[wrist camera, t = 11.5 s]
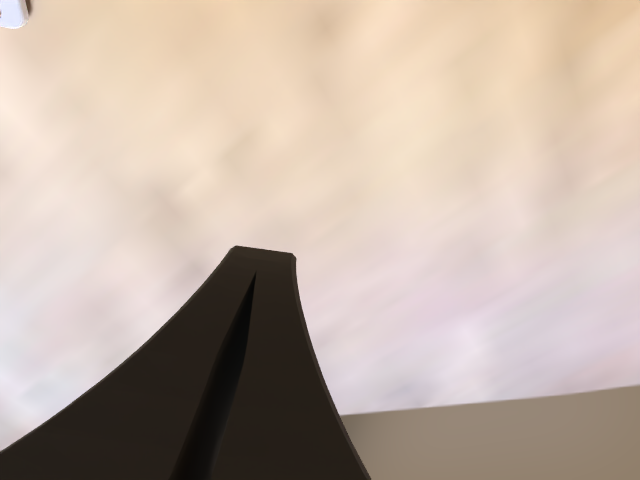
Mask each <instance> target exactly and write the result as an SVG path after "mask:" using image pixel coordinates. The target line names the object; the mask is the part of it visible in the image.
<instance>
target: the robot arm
mask: <svg viewBox="0 0 640 480" xmlns="http://www.w3.org/2000/svg"><path fill="white" fill-rule="evenodd" d="M0 11H1V17H0V27H6V28H20V27H23V26H24V25H26V24H27V22H28V20H29V19H28V11H27V6H26V2H25V0H0ZM0 480H371V478H370V476H369V474H368V472H367V470H366V468H365V467H364V465H363V463H362V461H361V459H360V457H359V455H358V453H357V451H356V449H355V448H354V446H353V444H352V442H351V440H350V438H349V436H348V433H347V431H346V429H345V427H344V425H343V422H342V420H341V418H340V416H339V414H338V412H337V409H336V407H335V405H334V402H333V400H332V397H331V395H330V393H329V390H328V388H327V385H326V383H325V380H324V378H323V375H322V372H321V370H320V367H319V364H318V361H317V358H316V355H315V352H314V349H313V346H312V343H311V340H310V336H309V333H308V329H307V325H306V322H305V318H304V314H303V310H302V306H301V301H300V296H299V290H298V284H297V276H296V257H295V256H294V255H293V254H292V253H287V252H279V251H272V250H265V249H257V248H250V247H243V246H234V247H233V248H231V249H230V250H229V252H228V253H227V255H226V256H225V257H224V259H223V260H222V261H221V263H220V264H219V265H218V266H217V268H216V269H215V270H214V271H213V273H212V274H211V275H210V276H209V277H208V278H207V280H206V281H205V282H204V283H203V284H202V285H201V287H200V288H199V289H198V290H197V291H196V292H195V293H194V294H193V295H192V296H191V297H190V299H189V300H188V301H187V302H186V303H185V304H184V305H183V306H182V307H181V308H180V309H179V310H178V311H177V312H176V313H175V314H174V316H172V317H171V318H170V319H169V320H168V321H167V322H166V323H165V324H164V325H163V326H162V327H161V328H160V329H159V330H158V331H157V332H156V333H155V334H154V335H153V336H152V337H151V338H150V339H149V340H148V341H147V342H145V343H144V344H143V345H142V346H141V347H140V348H139V349H138V350H137V351H135V352H134V353H133V354H132V355H131V356H130V357H129V358H127V359H126V360H125V361H124V362H123V363H122V364H120V365H119V366H118V367H117V368H115V369H114V370H113V371H112V372H111V373H109V374H108V375H107V376H106V377H105V378H103V379H102V380H101V381H100V382H98V383H97V384H96V385H94V386H93V387H92V388H90V389H89V390H88V391H86V392H85V393H84V394H83V395H81V396H80V397H79V398H77V399H76V400H75V401H73V402H72V403H71V404H69V405H68V406H67V407H65V408H64V409H63V410H61V411H60V412H58V413H57V414H56V415H54V416H53V417H51V418H50V419H49V420H47V421H46V422H44V423H43V424H42V425H40V426H39V427H37V428H36V429H34V430H33V431H31V432H30V433H28V434H27V435H25V436H24V437H22V438H21V439H19V440H17V441H16V442H14V443H13V444H11V445H10V446H8V447H7V448H5V449H4V450H2V451H1V452H0Z"/></svg>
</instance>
